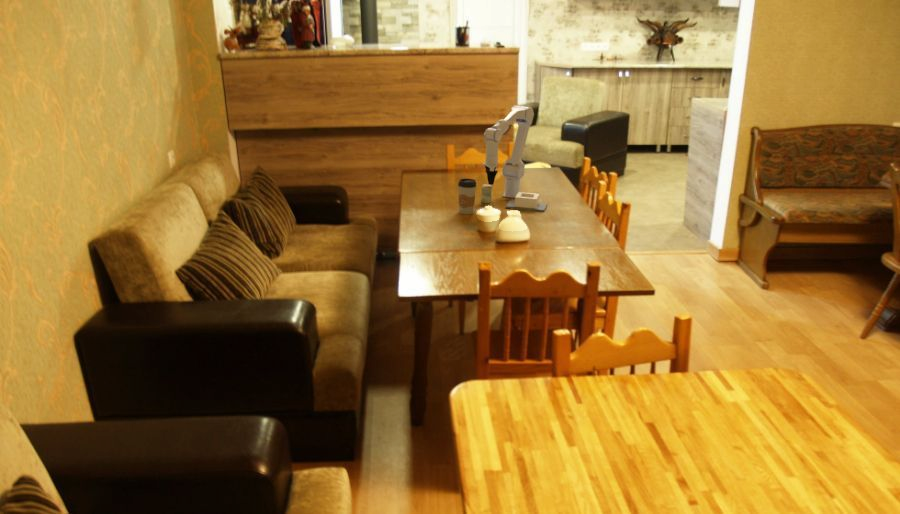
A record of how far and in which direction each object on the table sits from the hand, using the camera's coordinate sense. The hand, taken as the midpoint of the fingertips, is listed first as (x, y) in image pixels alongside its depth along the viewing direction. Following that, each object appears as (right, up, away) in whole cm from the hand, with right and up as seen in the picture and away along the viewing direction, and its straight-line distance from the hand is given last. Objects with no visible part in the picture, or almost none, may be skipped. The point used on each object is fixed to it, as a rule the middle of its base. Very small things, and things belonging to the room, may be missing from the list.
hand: (490, 182), depth 326 cm
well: (+17, -11, 0) cm, 21 cm away
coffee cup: (-12, -15, -11) cm, 22 cm away
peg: (-2, -9, +6) cm, 11 cm away
